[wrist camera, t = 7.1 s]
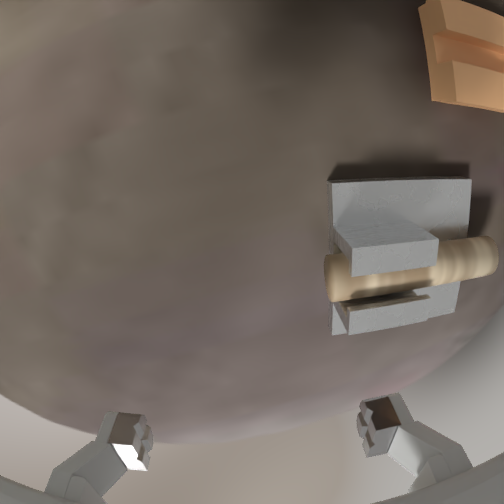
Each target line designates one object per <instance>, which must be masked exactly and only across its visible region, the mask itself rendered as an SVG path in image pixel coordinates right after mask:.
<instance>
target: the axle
mask: <svg viewBox="0 0 504 504" xmlns="http://www.w3.org/2000/svg"><path fill="white" fill-rule="evenodd" d="M498 261H499V255H498V249H497V246H496V244H495V242H494V241H493V239H492V238H490V237H489V236H480V237H472V238H464V239H456V240H448V241H439V245H438V254H437V262H436V266H430V267H423V268H416V269H409V270H402V271H394V272H387V273H379V274H372V275H364V276H356V277H351V276H350V274H349V260H348V259H347V257H346V256H345V255H344V254H343V253H338V254H329V255H326V256H325V261H324V275H325V284H326V289H327V294H328V297H329V299H330V301H331V302H338V301H345V300H352V299H359V298H365V297H372V296H378V295H384V294H391V293H397V292H403V291H408V290H414V289H420V288H425V287H431V286H436V285H442V284H447V283H452V282H457V281H462V280H467V279H472V278H477V277H481V276H486V275H491V274H492V273H494V272H495V270H496V268H497V266H498Z"/></svg>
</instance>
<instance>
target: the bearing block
mask: <svg viewBox="0 0 504 504" xmlns="http://www.w3.org/2000/svg"><path fill="white" fill-rule="evenodd" d="M471 181H472V179H469V178H466V177H462V176H433V177H388V178H363V179H343V180H327V194H328V224H329V254H338V253H343V254H344V255H345V256H346V257H347V259H348V260H349V274H350V276H351V277H356V276H364V275H372V274H379V273H387V272H394V271H402V270H409V269H416V268H423V267H430V266H436V262H437V254H438V245H439V241H448V240H456V239H464V238H467V234H468V224H469V213H470V200H471ZM459 287H460V281H457V282H452V283H447V284H442V285H436V286H431V287H425V288H420V289H414V290H408V291H403V292H397V293H391V294H384V295H378V296H372V297H365V298H359V299H352V300H345V301H338V302H331V301H330V299H329V317H328V327H329V329H330V332H331V334H332V335H337V334H344V333H348V335H352V334H358V333H364V332H370V331H376V330H381V329H387V328H392V327H397V326H403V325H408V324H413V323H417V322H422V321H427V318H431V317H435V316H440V315H444V314H449V313H453V312H454V311H455V306H456V302H457V297H458V292H459Z"/></svg>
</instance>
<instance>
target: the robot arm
mask: <svg viewBox="0 0 504 504" xmlns="http://www.w3.org/2000/svg"><path fill="white" fill-rule="evenodd" d="M360 409H361V412H360V413H359V414H358V416H357V429H358V433H359V436H360V437H362V438H363V439H364V441H363V448H364V451H365V454H366V457H372V456H376V455H381V454H385V453H387V455H389V456H390V457H391V458H392V459H394V460H395V461H396V462H397V463H399V464H400V465H401V466H402V467H403V468H405V469H406V470H407V471H408V472H410V473H411V474H412V475H414V476H415V477H416V480H415V481H414V483H413V484H412V486H411V487H410V489H409V493H407V494H404V495H401V496H398V497H395V498H391V499H388V500H384V501H380V502H376V503H372V504H504V452H503V453H501V454H500V455H498V456H496V457H494V458H492V459H490V460H488V461H486V462H484V463H482V464H480V465H478V466H476V467H474V468H473V466H472V464H471V463H470V461H469V459H468V457H467V455H466V453H465V451H464V449H463V447H462V446H461V445H460V444H458V443H456V442H454V441H453V440H451V439H449V438H447V437H445V436H444V435H442V434H440V433H438V432H436V431H435V430H433V429H431V428H429V427H428V426H426V425H424V424H422V423H421V422H419V421H415V422H414V420H413V418H412V416H411V414H410V412H409V410H408V408H407V406H406V404H405V402H404V400H403V398H402V397H401V395H400V394H399V393H395V394H390V395H386V396H380V397H376V398H371V399H366V400H362V401H361V403H360ZM146 423H147V419H146V417H145V415H141V414H130V413H121V412H111V411H108V412H107V413H106V414H105V417H104V419H103V422H102V424H101V427H100V429H99V432H98V435H97V437H96V440H95V441H91V442H90V443H89V444H87V445H86V446H84V447H83V448H82V449H81V450H79V451H78V452H76V453H75V454H74V455H73V456H71V457H70V458H68V459H67V460H66V461H64V462H63V463H61V464H60V465H59V466H57V467H56V468H54V469H53V472H52V474H51V477H50V479H49V482H48V484H47V487H46V489H45V492H42V491H39V490H36V489H33V488H30V487H28V486H25V485H22V484H20V483H17V482H15V481H12V480H10V479H7V478H5V477H3V476H1V475H0V504H108V503H107V502H106V501H105V500H104V499H103V498H102V496H103V495H104V494H105V493H106V492H107V491H108V490H109V489H110V488H111V487H112V486H113V485H114V484H115V483H116V482H117V481H118V480H119V479H120V477H121V476H122V475H123V474H124V473H125V472H126V471H127V469H132V470H144V471H147V470H148V465H149V460H150V457H149V455H148V452H149V451H150V450H151V449H152V446H153V433H152V430H151V428H150V427H149V426H148V425H146Z"/></svg>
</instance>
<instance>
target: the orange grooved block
mask: <svg viewBox="0 0 504 504" xmlns="http://www.w3.org/2000/svg"><path fill="white" fill-rule="evenodd" d="M418 10H419V15H420V20H421V25H422V30H423V36H424V42H425V48H426V54H427V61H428V69H429V77H430V86H431V97H432V101H440V102H441V103H449V104H457V105H463V106H470V107H476V108H482V109H487V110H493V111H498V112H503V113H504V17H503V16H500V15H498V14H496V13H493V12H491V11H488V10H486V9H483V8H481V7H478V6H475V5H473V4H470V3H467V2H464V1H461V0H426V3H425V4H424V5H422V6H420V7H418Z"/></svg>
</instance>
